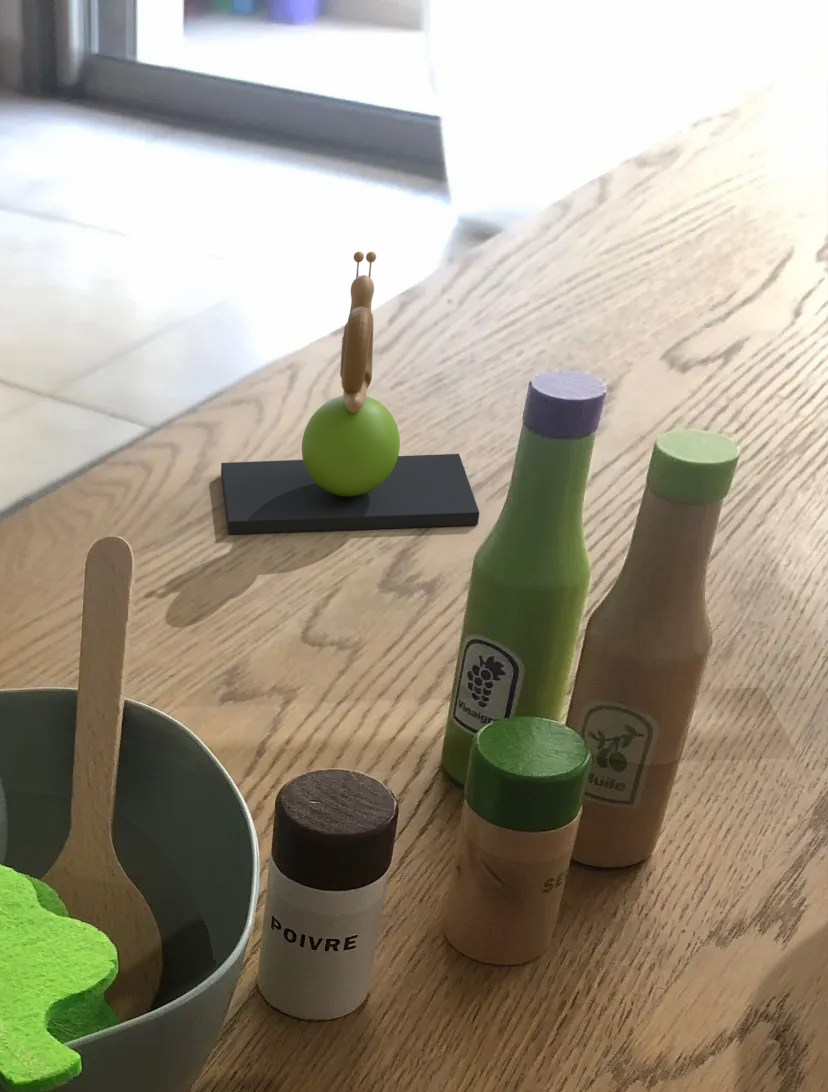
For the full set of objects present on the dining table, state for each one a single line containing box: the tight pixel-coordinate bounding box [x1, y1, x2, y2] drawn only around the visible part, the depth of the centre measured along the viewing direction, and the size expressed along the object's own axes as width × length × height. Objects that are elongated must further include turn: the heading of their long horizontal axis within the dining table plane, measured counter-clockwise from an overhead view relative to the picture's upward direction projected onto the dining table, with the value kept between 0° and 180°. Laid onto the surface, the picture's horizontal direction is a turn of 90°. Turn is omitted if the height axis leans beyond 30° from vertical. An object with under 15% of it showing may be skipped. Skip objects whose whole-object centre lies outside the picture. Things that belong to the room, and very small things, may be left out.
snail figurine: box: [301, 250, 401, 497], centre depth 89 cm, size 5×6×12 cm
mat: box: [220, 453, 480, 535], centre depth 94 cm, size 14×7×1 cm, turn 90°
